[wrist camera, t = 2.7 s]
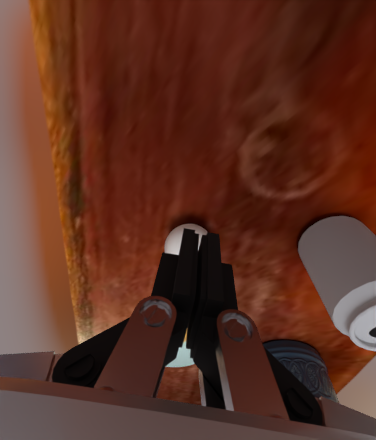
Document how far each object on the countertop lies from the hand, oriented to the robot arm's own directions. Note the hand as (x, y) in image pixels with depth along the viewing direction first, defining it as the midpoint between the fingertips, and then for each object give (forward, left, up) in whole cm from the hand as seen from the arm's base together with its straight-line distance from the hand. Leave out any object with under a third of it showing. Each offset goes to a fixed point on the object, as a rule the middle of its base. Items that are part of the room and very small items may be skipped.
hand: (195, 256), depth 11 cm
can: (-10, +14, -16) cm, 24 cm away
